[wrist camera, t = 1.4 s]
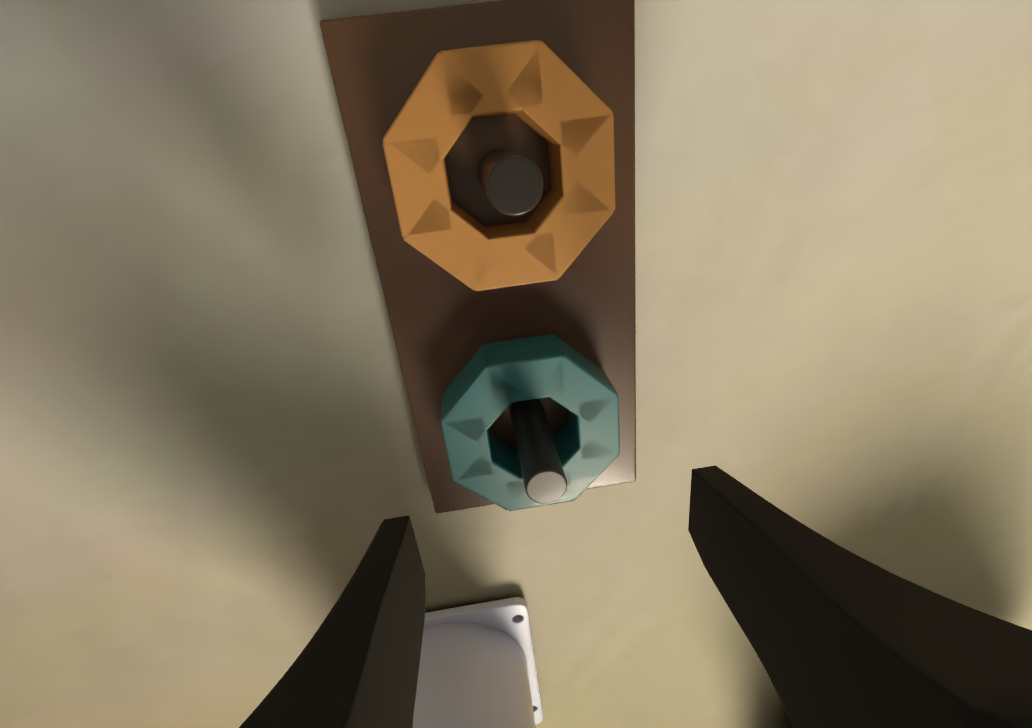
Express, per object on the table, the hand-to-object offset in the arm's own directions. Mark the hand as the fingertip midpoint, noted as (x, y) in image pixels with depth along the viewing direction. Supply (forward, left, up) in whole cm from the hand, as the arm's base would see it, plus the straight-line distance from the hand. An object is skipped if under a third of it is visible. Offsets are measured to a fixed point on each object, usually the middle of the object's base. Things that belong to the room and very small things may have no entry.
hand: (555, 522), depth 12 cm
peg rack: (+4, 0, -6) cm, 7 cm away
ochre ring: (+8, 0, -6) cm, 10 cm away
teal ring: (0, 0, -6) cm, 6 cm away
